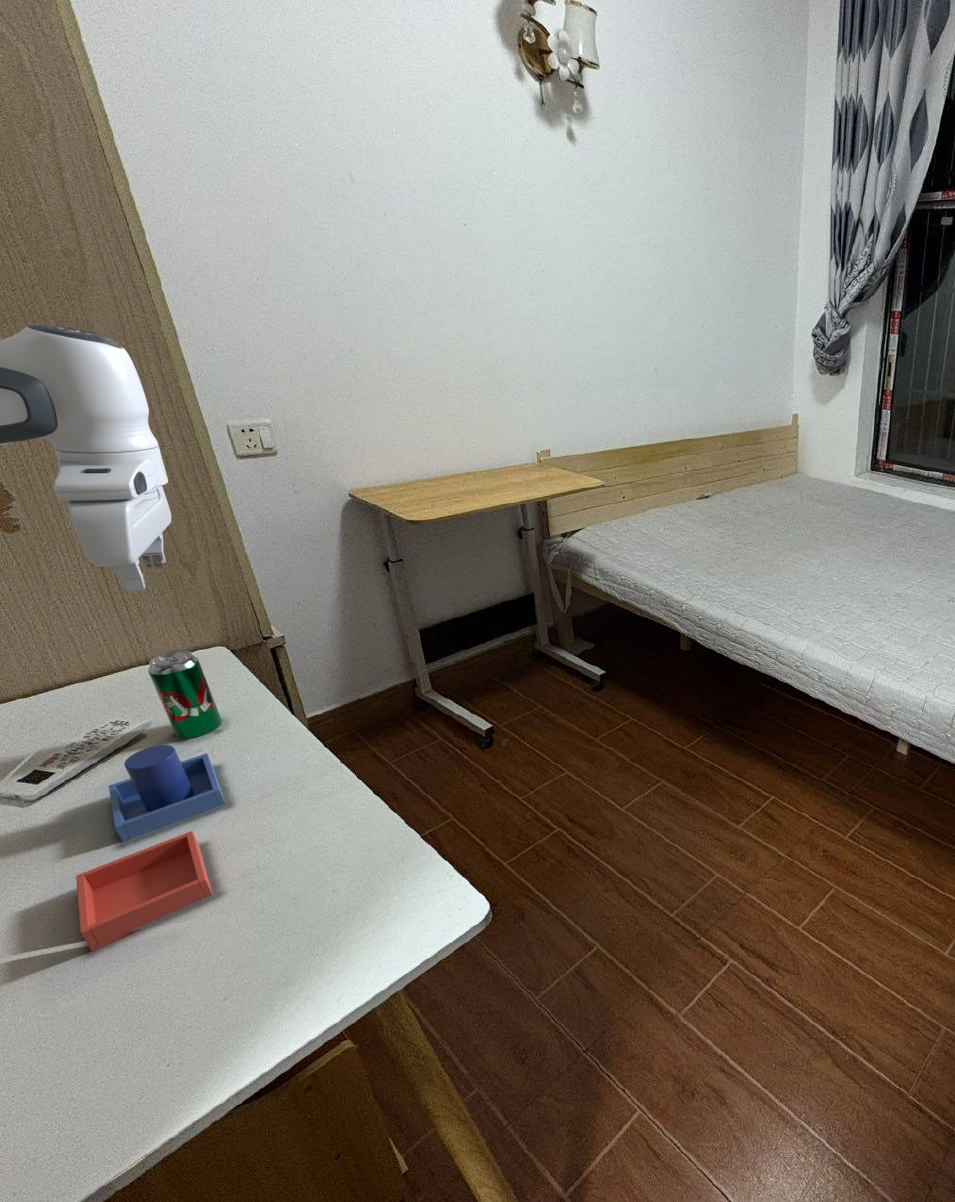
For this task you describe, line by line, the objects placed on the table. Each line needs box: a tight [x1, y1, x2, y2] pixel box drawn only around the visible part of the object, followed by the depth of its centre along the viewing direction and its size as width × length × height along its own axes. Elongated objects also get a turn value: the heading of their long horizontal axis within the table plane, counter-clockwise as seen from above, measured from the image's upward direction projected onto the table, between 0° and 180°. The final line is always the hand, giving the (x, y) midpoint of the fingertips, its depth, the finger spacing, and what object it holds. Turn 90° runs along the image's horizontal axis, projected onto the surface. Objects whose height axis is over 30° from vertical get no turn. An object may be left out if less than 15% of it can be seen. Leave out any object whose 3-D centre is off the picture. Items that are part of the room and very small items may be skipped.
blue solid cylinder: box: [124, 744, 194, 812], centre depth 79 cm, size 4×4×7 cm
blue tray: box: [108, 752, 226, 843], centre depth 80 cm, size 9×9×3 cm
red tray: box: [75, 830, 213, 952], centre depth 68 cm, size 9×9×3 cm
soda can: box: [147, 650, 223, 739], centre depth 90 cm, size 5×5×12 cm
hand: (147, 577), depth 84 cm, fingers open, 8 cm apart
